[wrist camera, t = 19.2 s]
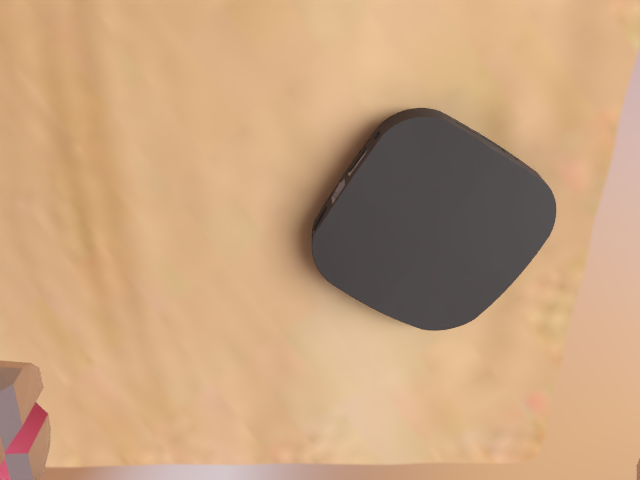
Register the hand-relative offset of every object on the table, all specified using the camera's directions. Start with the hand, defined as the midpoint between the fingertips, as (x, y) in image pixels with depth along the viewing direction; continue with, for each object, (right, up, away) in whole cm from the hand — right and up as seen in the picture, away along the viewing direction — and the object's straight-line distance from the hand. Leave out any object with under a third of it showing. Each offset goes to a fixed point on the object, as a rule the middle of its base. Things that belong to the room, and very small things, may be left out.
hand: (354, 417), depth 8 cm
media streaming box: (+8, +4, +38) cm, 38 cm away
